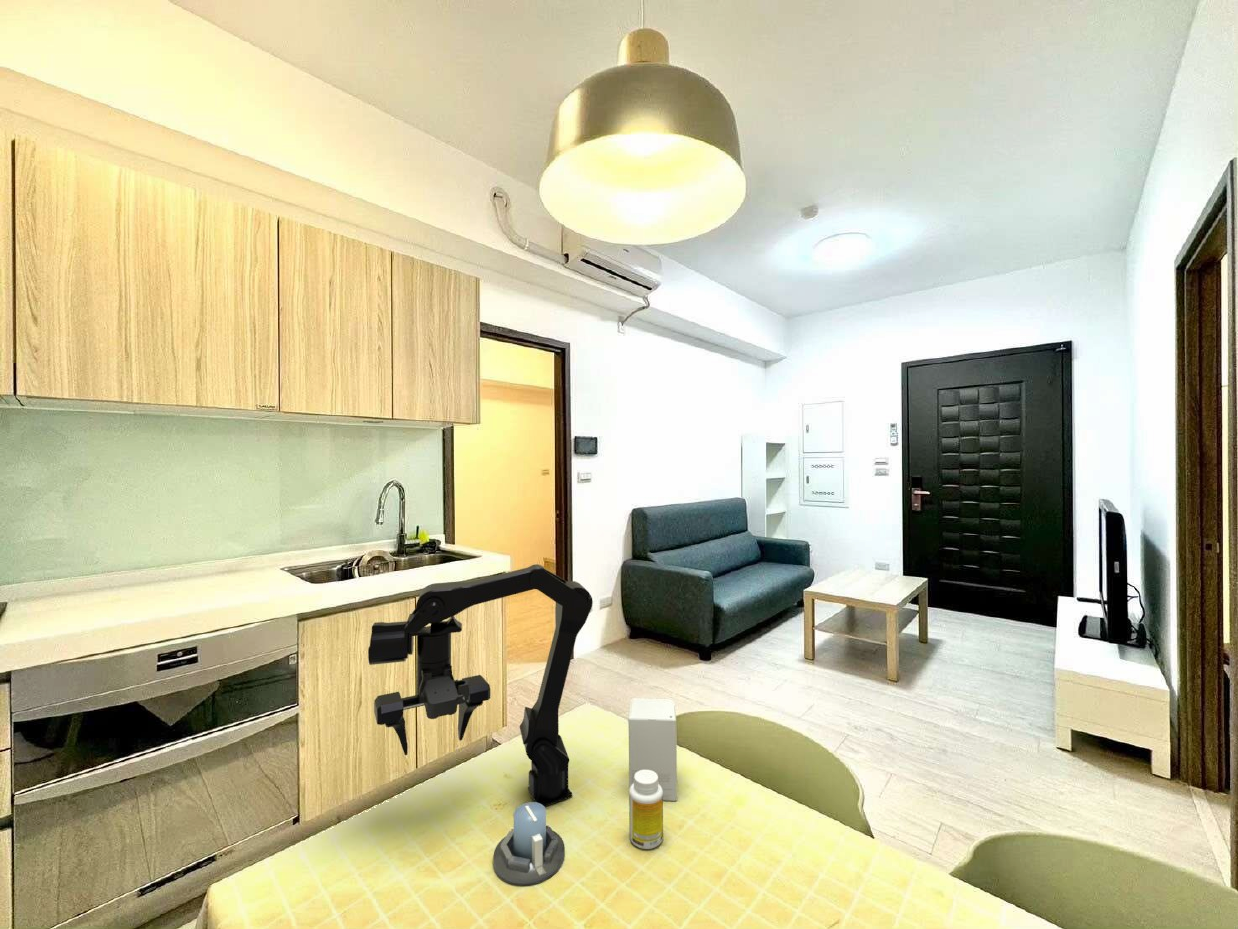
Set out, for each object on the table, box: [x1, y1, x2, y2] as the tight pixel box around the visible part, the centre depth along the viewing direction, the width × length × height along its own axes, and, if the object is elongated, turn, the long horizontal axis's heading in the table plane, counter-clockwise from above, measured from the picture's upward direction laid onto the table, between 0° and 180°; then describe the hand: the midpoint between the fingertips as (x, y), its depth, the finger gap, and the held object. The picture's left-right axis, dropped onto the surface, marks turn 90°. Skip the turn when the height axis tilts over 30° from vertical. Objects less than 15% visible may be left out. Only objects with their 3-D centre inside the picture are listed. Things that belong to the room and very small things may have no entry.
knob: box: [513, 801, 547, 869], centre depth 79 cm, size 6×5×6 cm
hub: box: [492, 824, 566, 887], centre depth 80 cm, size 11×11×2 cm
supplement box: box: [627, 697, 678, 802], centre depth 98 cm, size 9×9×15 cm
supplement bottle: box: [628, 770, 664, 850], centre depth 84 cm, size 6×6×10 cm
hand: (433, 746), depth 90 cm, fingers open, 9 cm apart
